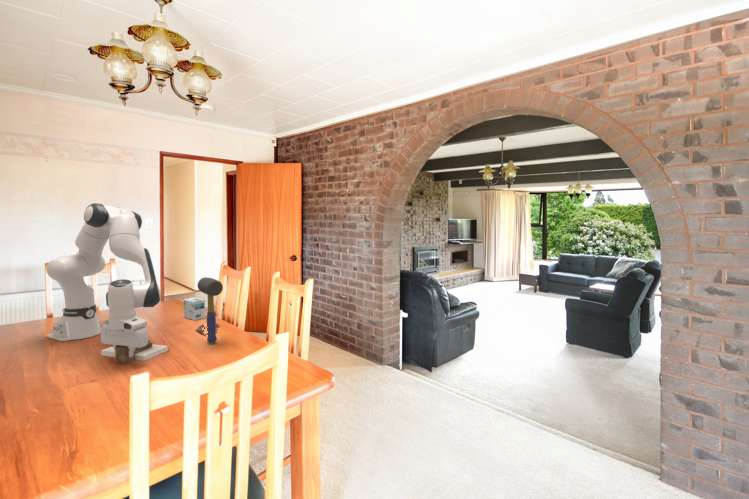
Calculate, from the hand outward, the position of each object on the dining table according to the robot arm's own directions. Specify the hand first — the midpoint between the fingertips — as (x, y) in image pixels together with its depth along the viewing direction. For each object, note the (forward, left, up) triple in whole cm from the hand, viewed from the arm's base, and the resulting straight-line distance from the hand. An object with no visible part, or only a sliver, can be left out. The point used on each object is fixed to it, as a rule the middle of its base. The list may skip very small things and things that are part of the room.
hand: (125, 355), depth 147 cm
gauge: (0, +5, -3) cm, 6 cm away
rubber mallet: (+18, +28, -3) cm, 33 cm away
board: (-5, +9, -3) cm, 11 cm away
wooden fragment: (+1, +46, -3) cm, 46 cm away
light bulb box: (-19, +60, -3) cm, 63 cm away
